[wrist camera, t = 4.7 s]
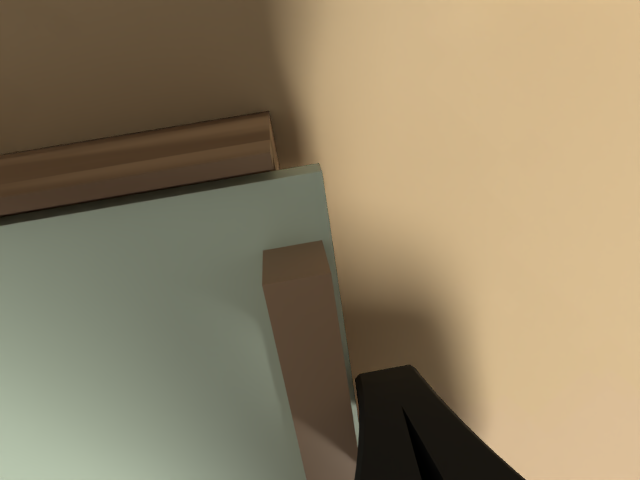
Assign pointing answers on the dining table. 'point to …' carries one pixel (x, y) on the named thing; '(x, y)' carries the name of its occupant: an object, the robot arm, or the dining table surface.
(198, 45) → the dining table surface
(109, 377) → the lid
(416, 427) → the robot arm
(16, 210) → the box
